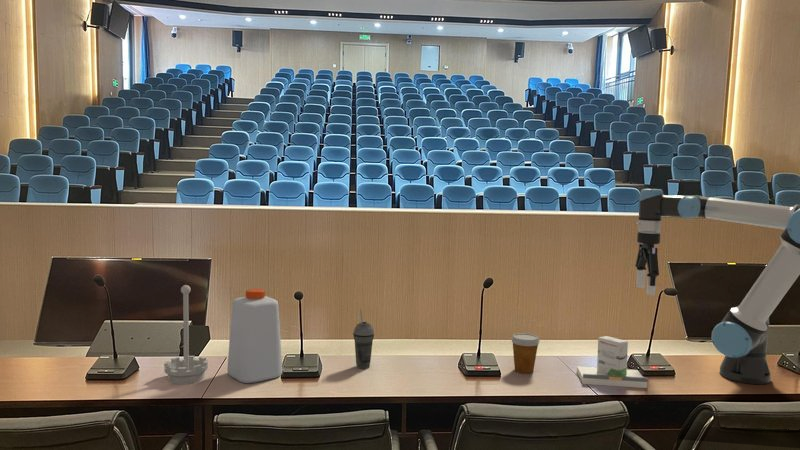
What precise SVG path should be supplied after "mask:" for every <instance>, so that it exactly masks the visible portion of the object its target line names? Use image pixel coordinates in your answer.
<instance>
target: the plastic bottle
mask: <svg viewBox="0 0 800 450" xmlns="http://www.w3.org/2000/svg"><path fill="white" fill-rule="evenodd" d="M231 302H232V303H231V312H230V313H231V315H230V327H229V342H228V356H227V357H228V358H227V375H229V376H230V377H232V378H234V379H235V380H236V381H238V382H239V383H243V384H255V383H259V382H263V381H268V380H272V379H276V378H279V377H280V376H281V375H282V374H283V359H282V358H283V357H282V344H281V343H282V342H281V341H282V340H281V327H280V310H279V302H278V299H277V300H276V299H274V298H272V297H269V296H267V295H266V291H265V289H262V288H250V289H247V290H246V291H245V296H242V297H237V298H234V299H233V300H232V301H231Z"/></svg>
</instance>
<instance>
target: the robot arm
mask: <svg viewBox="0 0 800 450" xmlns="http://www.w3.org/2000/svg"><path fill="white" fill-rule="evenodd" d="M638 203H639V204H638V205H639V206H638V222H636V226H637V230H638V231H639V232H637V233H636V234H637V237H636V238H637V239H636V242H637V243H638V252H637V257H636V262H635V268H636V283H635V284H636V285H635V288H638V289H639V288H642V289H644V288H645V281H646V279H647V282H646V296H656V290H657V277H658V276H659V275H660V270H659V260H658V251H659V250H658V248H657V247H655V245H658V244H660V243H661V232H662V231H661V230H662V217H664V218H665V217H669V218H680V219H681V218H683V219H695V218H699V219H700V218H701V219H709V220H714V221H715V220H716V221H723V222H724V221H725V222H730V223H737V224H743V225H751V226H759V227H763V228H771V229H779V230H784V231H782V233H781V234H780V236H779V239H780V242H781V245H779V247H778V248H777V250H776V252H775V253H774V255H773V256H772V257H771V258H770V260H769V262H768V263H767V264H766V266H765V268H764V269H763V270H762V272H761V273H760V275H759V276H758V278H757V279H756V280H755V282H754V283H753V285H752V286H751V288H750V289H749V291H748V292H747V293H746V295H745V297H744V298H743V299H742V301H741V302H740V304H739V305H738V306H734V307H730V309H729V310H728V312H727V313H726V315H724V317H723V319H722V320H721V321H720V322H719V323H717V324H716V325H715V326H714V328H713V329H712V331H711V341H712V344H713V346H714V348H715V349H716V350H717V351H718V352H719V353H720V354H721V355H723V356H724V357H723V360H722V361H721V364H720V366H719V375H721V376H722V377H724V378H726V379H728V380H731V381H735V382H738V383H744V384H750V385H767V384H769V383H770V382H771V377H772V376H771V375H772V374H771V371H770V368H769V363H768V361H767V351H768V348H767V347H768V340H769V339H768V338H769V326H770V316H771V315H772V314H773V313H774V311H775V309H776V308H777V306H778V305H779V304H780V302H781V301H782V299H783V298H784V297H785V295H786V294H787V293H788V291H789V290H790V289H791V287H792V286H793V285H794V283H795V282H796V280H797V279H798V278H799V276H800V204H795V205H793V206H786V205H780V204H769V203H762V202H755V201H754V202H753V201H746V200H737V199H727V198H720V197H719V198H718V197H710V196H704V195H703V196H702V195H700V194H699V195H698V194H693V195H672V194H671V195H670V194H669V195H668V194H664V191H663V189H661V188H659V189H658V188H643V189H641V190H640V193H639V201H638ZM646 271H647V272H648V273H646ZM646 277H647V278H646Z"/></svg>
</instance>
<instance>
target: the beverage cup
mask: <svg viewBox="0 0 800 450" xmlns="http://www.w3.org/2000/svg"><path fill="white" fill-rule="evenodd" d="M359 312H360V313H359V314H360V322H359V323H358V324H356V325H355V327H354V330H353V333H352V335H353V339H354V349H355V350H354V351H355V364H356V368H357V369H361V370H366V369H369V368H370V367H371V361H372V360H371V359H372V349H373V341H374V338H375V331H374V327H373V326H372V325H371V324H370V323H369V322H366V321H364V320H363V313H362V309H359Z"/></svg>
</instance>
